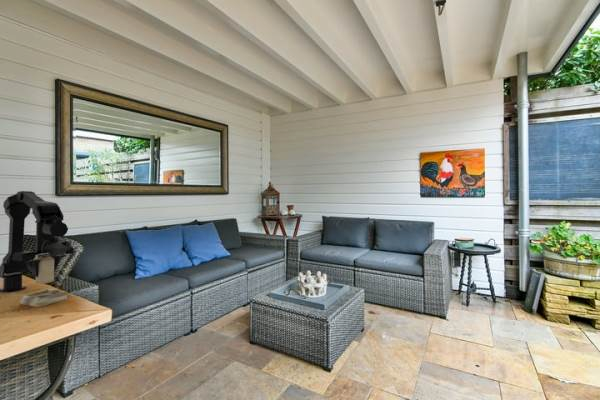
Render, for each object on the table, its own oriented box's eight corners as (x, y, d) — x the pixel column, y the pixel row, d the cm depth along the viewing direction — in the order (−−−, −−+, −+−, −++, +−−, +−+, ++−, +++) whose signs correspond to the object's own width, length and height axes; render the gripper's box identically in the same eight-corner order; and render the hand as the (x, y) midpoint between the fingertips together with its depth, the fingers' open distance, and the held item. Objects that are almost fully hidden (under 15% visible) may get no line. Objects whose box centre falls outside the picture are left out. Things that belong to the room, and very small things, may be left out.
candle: (57, 280, 120) (58, 255, 120) (44, 284, 115) (45, 257, 115) (45, 279, 121) (45, 254, 121) (31, 283, 115) (32, 257, 115)
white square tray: (20, 303, 114) (20, 296, 114) (48, 296, 124) (48, 288, 124) (39, 307, 112) (39, 299, 112) (67, 298, 121) (67, 291, 121)
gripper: (33, 239, 107) (32, 283, 107) (84, 233, 125) (83, 271, 125) (11, 237, 110) (10, 280, 110) (64, 232, 128) (63, 269, 128)
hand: (44, 275), depth 118 cm, fingers closed on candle, 5 cm apart
